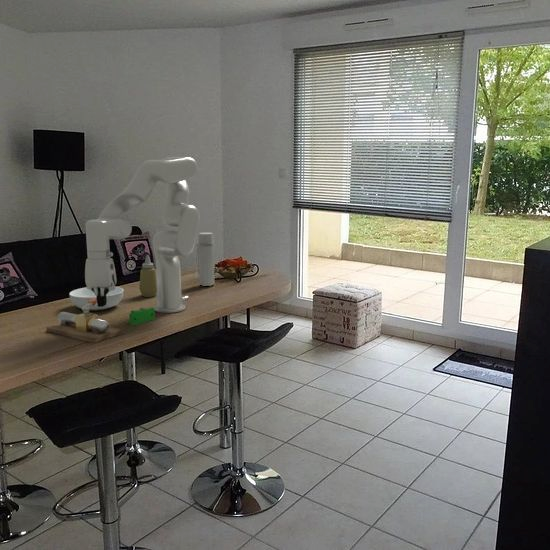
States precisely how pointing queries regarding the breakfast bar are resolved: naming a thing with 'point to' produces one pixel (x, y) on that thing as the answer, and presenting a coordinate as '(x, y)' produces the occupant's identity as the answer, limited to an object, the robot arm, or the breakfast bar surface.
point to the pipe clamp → (141, 316)
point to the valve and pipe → (84, 322)
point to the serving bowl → (84, 294)
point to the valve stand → (82, 335)
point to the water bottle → (205, 259)
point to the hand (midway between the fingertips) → (102, 305)
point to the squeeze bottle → (148, 279)
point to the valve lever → (89, 305)
